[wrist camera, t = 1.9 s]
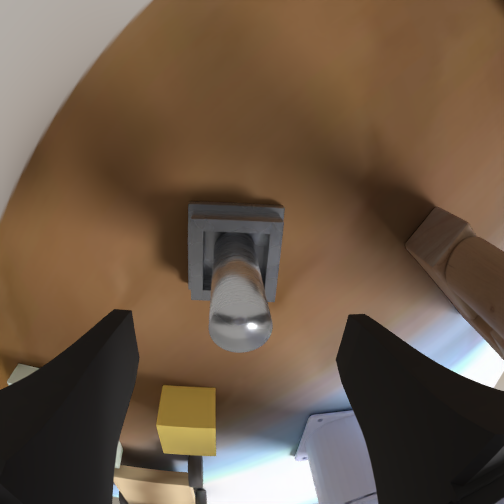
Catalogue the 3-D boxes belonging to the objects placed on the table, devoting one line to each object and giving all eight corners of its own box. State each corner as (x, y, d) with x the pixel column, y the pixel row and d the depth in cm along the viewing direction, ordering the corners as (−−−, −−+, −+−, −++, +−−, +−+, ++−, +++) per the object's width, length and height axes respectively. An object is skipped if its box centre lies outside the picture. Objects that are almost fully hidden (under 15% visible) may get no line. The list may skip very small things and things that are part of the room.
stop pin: (255, 232, 17) (275, 302, 10) (252, 269, 18) (268, 352, 11) (214, 230, 17) (208, 300, 10) (213, 268, 17) (208, 351, 11)
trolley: (201, 448, 25) (200, 504, 19) (206, 496, 30) (207, 537, 25) (98, 436, 24) (85, 488, 18) (128, 488, 29) (122, 527, 24)
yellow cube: (215, 387, 22) (215, 428, 18) (215, 417, 24) (216, 456, 20) (162, 384, 22) (156, 424, 18) (168, 415, 23) (163, 453, 19)
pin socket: (282, 205, 17) (290, 216, 15) (273, 286, 19) (279, 306, 17) (189, 201, 16) (184, 212, 14) (189, 284, 18) (185, 304, 16)
